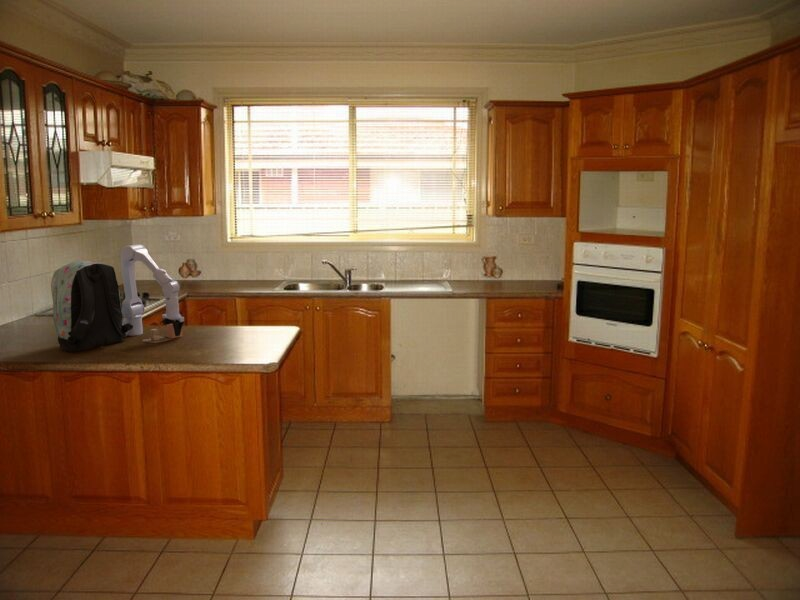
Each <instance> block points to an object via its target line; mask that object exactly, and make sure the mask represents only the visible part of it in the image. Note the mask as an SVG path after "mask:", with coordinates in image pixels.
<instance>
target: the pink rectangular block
mask: <svg viewBox="0 0 800 600" xmlns="http://www.w3.org/2000/svg"><path fill="white" fill-rule="evenodd" d="M165 336H166V338H170V339H177V338H180V337H183V328H182V329H181V333H180V336H176V335H175V331H174V327H173V324H167V325H166V326H165Z"/></svg>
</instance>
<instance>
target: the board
mask: <svg viewBox="0 0 800 600" xmlns="http://www.w3.org/2000/svg"><path fill="white" fill-rule="evenodd" d="M171 340H173V338H169V337H165V336H161V335H159V340H157V341H152V340H151V337H150V338H145V339H141V341H142V342H147V343H150V344H157V343H162V342H167V341H171Z"/></svg>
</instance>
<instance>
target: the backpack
mask: <svg viewBox="0 0 800 600" xmlns="http://www.w3.org/2000/svg"><path fill="white" fill-rule="evenodd" d="M50 289H51V297H52V306H53V307H52V309H53V311H52V313H53V314H52V315H53V323H54V328H55V330H56V333H57V342H58V344H59V348H61V349H62V350H64V351H66V352H69V353H73V352H81V351H86V350H89V349H93V348H98V347H102V346H105V345H109V344H115V343H119V342H121V341H123V340H124V338H126V337H127V336H126V332H128V331H129V330H131V329H132V328H133V325H131V324H129V323H127V324H124V325H122V321H123V318H124V316H123V315H122V312H121V310H122V305H121V304H122V303H121V293H120V287H119V283H118V279H117V275H116V271H115V268H114V266H112V265H109V264H105V263H103V262H102V263H101V262H94V261H93V262H92V261H90V260H84V259H82V260H81V259H80V260H75V261H71V262H69V263H67V264H65V265H62V266H61V267H59V268H58V269H56V270H55V271H54V272H53V275H52V277H51V284H50Z"/></svg>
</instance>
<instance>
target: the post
mask: <svg viewBox="0 0 800 600" xmlns="http://www.w3.org/2000/svg"><path fill="white" fill-rule="evenodd" d="M159 331H160V330H159V329H158V328H151V329H150V338H151V340H152V341H157V340H159V336H160V332H159Z"/></svg>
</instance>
